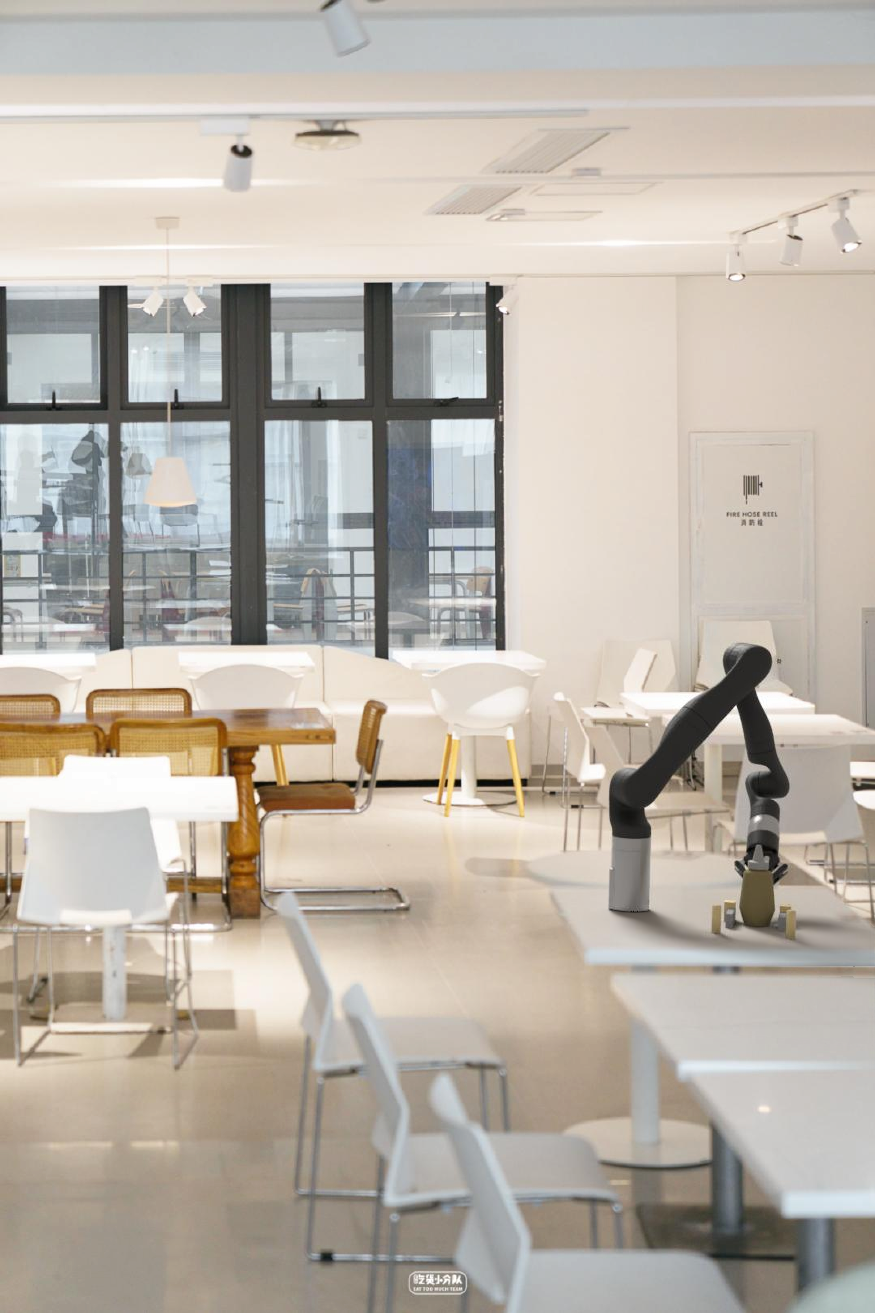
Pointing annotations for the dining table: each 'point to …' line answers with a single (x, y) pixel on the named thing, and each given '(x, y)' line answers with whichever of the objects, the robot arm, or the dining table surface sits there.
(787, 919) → the wooden post frame
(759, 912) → the squeeze bottle
